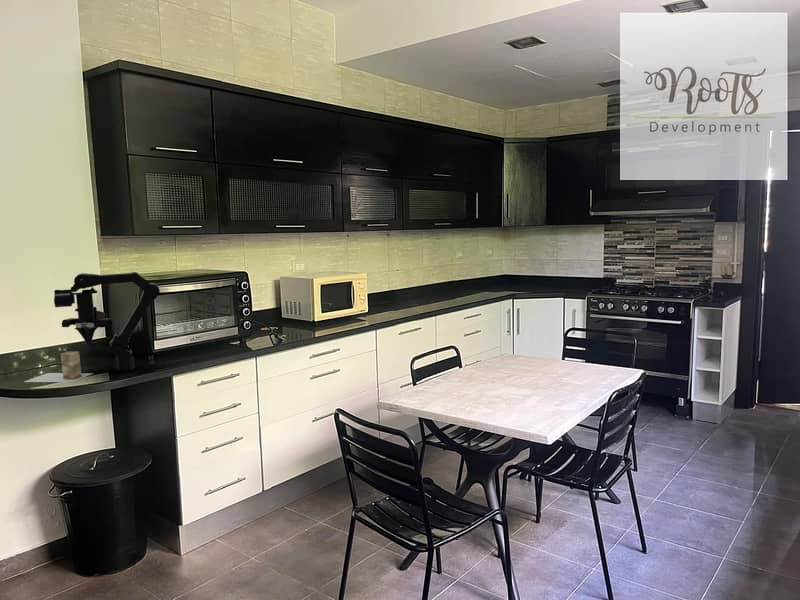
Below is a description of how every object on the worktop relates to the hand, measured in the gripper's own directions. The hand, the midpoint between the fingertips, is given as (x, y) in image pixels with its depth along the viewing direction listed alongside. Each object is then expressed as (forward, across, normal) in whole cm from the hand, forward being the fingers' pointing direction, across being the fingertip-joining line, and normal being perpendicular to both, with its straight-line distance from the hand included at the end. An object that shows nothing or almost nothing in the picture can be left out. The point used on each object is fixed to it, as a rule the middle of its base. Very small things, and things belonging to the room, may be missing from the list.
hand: (89, 344), depth 234 cm
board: (+13, +9, +7) cm, 17 cm away
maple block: (+12, +3, +7) cm, 14 cm away
